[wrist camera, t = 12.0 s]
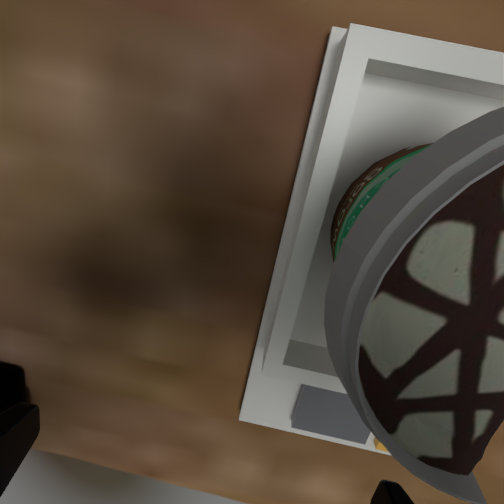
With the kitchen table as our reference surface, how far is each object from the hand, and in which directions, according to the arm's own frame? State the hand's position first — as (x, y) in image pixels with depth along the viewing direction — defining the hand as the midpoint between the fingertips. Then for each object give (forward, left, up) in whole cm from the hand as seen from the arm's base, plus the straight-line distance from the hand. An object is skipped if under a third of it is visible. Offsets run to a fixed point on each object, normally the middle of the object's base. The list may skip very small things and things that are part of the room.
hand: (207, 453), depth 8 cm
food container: (+6, +4, -12) cm, 13 cm away
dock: (+7, +1, -12) cm, 14 cm away
